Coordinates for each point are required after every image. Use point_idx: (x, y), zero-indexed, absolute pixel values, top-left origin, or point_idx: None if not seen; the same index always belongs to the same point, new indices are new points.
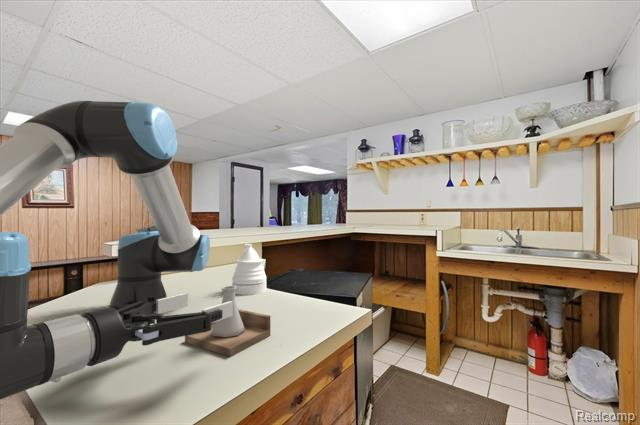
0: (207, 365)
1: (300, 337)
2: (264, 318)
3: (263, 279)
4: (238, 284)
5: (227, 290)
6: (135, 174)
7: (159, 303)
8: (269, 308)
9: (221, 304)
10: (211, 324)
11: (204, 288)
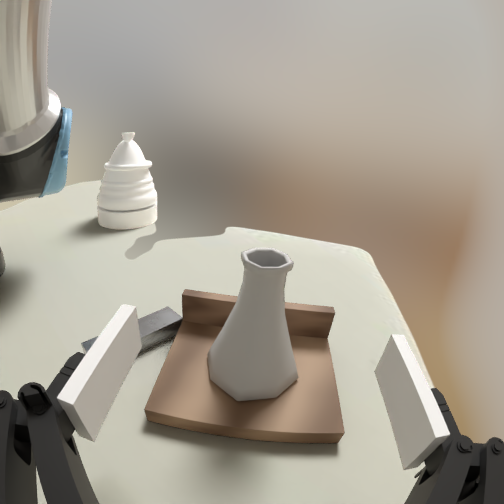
0: (327, 493)
1: (374, 332)
2: (324, 316)
3: (155, 198)
4: (113, 210)
5: (280, 273)
6: None
7: (80, 410)
8: (215, 260)
9: (413, 366)
10: (156, 337)
11: (47, 221)
